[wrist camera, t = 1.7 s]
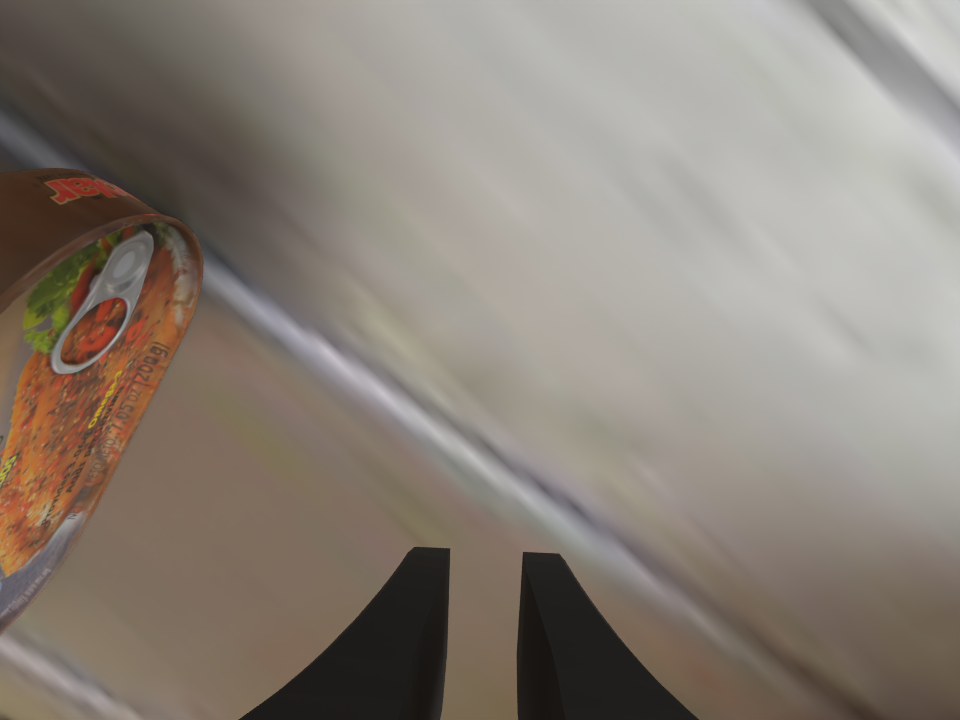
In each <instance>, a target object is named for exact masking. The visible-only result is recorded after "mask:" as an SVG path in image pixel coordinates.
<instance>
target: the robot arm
mask: <svg viewBox="0 0 960 720" xmlns="http://www.w3.org/2000/svg"><path fill="white" fill-rule="evenodd" d="M449 570H450V549H449V548H428V547H414V548H413V549H412V550H410V551H409V552H408V553H407V555H406V556H405V558H404V559H403V561H402V562H401V564H400V565H399V566H398V568H397V569H396V571H395V572H394V573H393V575H392V576H391V577H390V579H389V580H388V581H387V582H386V584H385V585H384V586H383V587H382V589H381V590H380V591H379V592H378V593H377V595H376V596H375V597H374V598H373V599H372V601H371V602H370V603H369V604H368V605H367V606H366V608H365V609H364V610H363V611H362V612H361V613H360V615H359V616H358V617H357V618H356V619H355V620H354V621H353V622H352V623H351V624H350V625H349V626H348V627H347V628H346V629H345V630H344V631H343V632H342V633H341V634H340V635H339V636H338V637H337V638H336V640H335V641H334V642H333V643H332V644H331V645H330V646H329V647H328V648H327V649H326V650H325V651H324V652H323V653H321V654H320V655H319V656H318V657H317V658H316V659H315V660H314V661H313V662H312V663H311V664H310V665H308V666H307V667H306V668H305V669H304V670H303V671H302V672H300V673H299V674H298V675H297V676H296V677H295V678H293V679H292V680H291V681H290V682H289V683H287V684H286V685H285V686H284V687H283V688H281V689H280V690H279V691H278V692H276V693H275V694H274V695H272V696H271V697H270V698H268V699H267V700H266V701H264V702H263V703H261V704H260V705H259V706H257V707H256V708H254V709H253V710H251V711H250V712H249V713H247V714H246V715H244V716H243V717H242V718H240V719H239V720H440V717H441V712H442V704H443V693H444V682H445V670H446V659H447V639H448V605H449ZM517 703H518V720H699V719H698V718H697V717H695V716H694V715H693V714H692V713H691V712H690V711H689V710H687V709H686V708H685V707H684V706H683V705H682V704H681V703H680V702H679V701H678V700H677V699H676V698H675V697H674V696H673V695H672V694H671V693H670V692H668V691H667V690H666V689H665V688H664V687H663V686H662V685H661V684H660V683H659V682H658V681H657V680H656V679H655V678H654V677H653V676H652V675H651V673H650V672H649V671H648V670H647V669H646V668H645V667H644V666H643V665H642V664H641V662H640V661H639V660H638V659H637V658H636V657H635V656H634V654H633V653H632V652H631V651H630V650H629V649H628V648H627V646H626V645H625V644H624V643H623V642H622V640H621V639H620V638H619V637H618V635H617V634H616V633H615V632H614V630H613V629H612V628H611V626H610V625H609V624H608V623H607V621H606V620H605V619H604V617H603V616H602V615H601V613H600V612H599V611H598V609H597V608H596V607H595V605H594V604H593V603H592V601H591V600H590V598H589V597H588V595H587V594H586V593H585V591H584V590H583V588H582V587H581V585H580V584H579V582H578V581H577V579H576V578H575V576H574V574H573V573H572V571H571V570H570V568H569V566H568V565H567V563H566V561H565V560H564V559H563V558H562V557H561V555H560V554H554V553H533V552H523V561H522V577H521V594H520V610H519V626H518V643H517Z"/></svg>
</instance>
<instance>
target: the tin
mask: <svg viewBox="0 0 960 720" xmlns="http://www.w3.org/2000/svg"><path fill="white" fill-rule="evenodd" d="M202 278H203V256H202V250H201V246H200V243H199V241H198V239H197V237H196V235H195V234H194V232H193V231H192V230H191V229H190V228H189V227H188V226H187V225H186V224H184V223H182V222H181V221H179V220H178V219H175V218H173V217H170V216H166V215H162V214H160V213H159V212H157V211H156V210H154V209H152V208H151V207H149V206H148V205H146V204H144V203H143V202H141V201H140V200H138V199H137V198H135V197H134V196H132V195H131V194H129V193H127V192H126V191H124V190H122V189H121V188H119V187H117V186H116V185H114V184H112V183H110V182H108V181H106V180H104V179H102V178H100V177H98V176H95V175H93V174H90V173H87V172H83V171H80V170H73V169H63V168H45V169H34V170H25V171H17V172H9V173H1V174H0V636H1V635H2V634H3V633H4V632H5V631H6V630H7V629H8V628H9V627H10V626H11V625H12V624H13V622H14V621H15V620H16V619H17V618H18V617H19V616H20V615H21V614H22V613H23V612H24V610H25V609H26V608H27V607H28V606H29V605H30V604H31V603H32V602H33V600H34V599H35V598H36V597H37V596H38V595H39V593H40V592H41V591H42V590H43V588H44V587H45V586H46V585H47V583H48V582H49V581H50V580H51V578H52V577H53V576H54V574H55V573H56V572H57V570H58V569H59V567H60V566H61V565H62V563H63V562H64V561H65V559H66V558H67V556H68V555H69V553H70V552H71V550H72V549H73V547H74V545H75V544H76V542H77V540H78V538H79V537H80V536H81V534H82V533H83V531H84V529H85V527H86V525H87V523H88V522H89V520H90V518H91V516H92V514H93V512H94V510H95V508H96V506H97V504H98V502H99V500H100V498H101V497H102V495H103V493H104V491H105V489H106V487H107V485H108V483H109V481H110V479H111V477H112V475H113V473H114V471H115V469H116V468H117V466H118V463H119V461H120V459H121V457H122V455H123V453H124V451H125V450H126V448H127V446H128V444H129V442H130V440H131V438H132V436H133V434H134V432H135V430H136V428H137V426H138V424H139V422H140V420H141V418H142V416H143V414H144V412H145V410H146V409H147V407H148V405H149V403H150V401H151V399H152V397H153V395H154V394H155V392H156V390H157V388H158V386H159V383H160V381H161V380H162V378H163V376H164V374H165V372H166V370H167V368H168V366H169V364H170V362H171V360H172V358H173V356H174V354H175V352H176V350H177V349H178V347H179V345H180V343H181V341H182V339H183V337H184V334H185V332H186V330H187V328H188V326H189V324H190V321H191V319H192V316H193V314H194V311H195V307H196V304H197V301H198V297H199V293H200V290H201V284H202Z"/></svg>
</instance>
